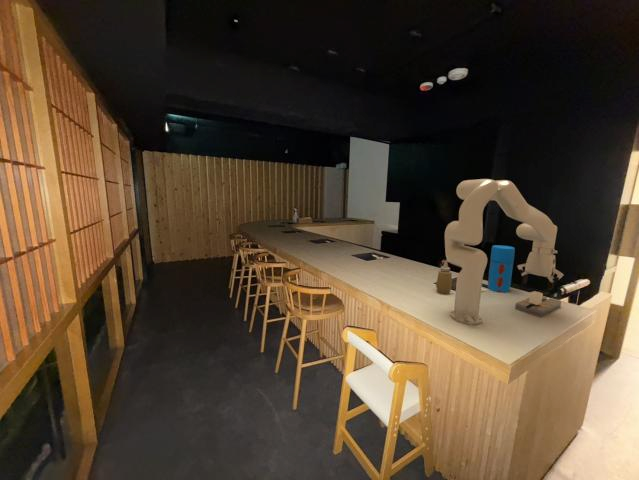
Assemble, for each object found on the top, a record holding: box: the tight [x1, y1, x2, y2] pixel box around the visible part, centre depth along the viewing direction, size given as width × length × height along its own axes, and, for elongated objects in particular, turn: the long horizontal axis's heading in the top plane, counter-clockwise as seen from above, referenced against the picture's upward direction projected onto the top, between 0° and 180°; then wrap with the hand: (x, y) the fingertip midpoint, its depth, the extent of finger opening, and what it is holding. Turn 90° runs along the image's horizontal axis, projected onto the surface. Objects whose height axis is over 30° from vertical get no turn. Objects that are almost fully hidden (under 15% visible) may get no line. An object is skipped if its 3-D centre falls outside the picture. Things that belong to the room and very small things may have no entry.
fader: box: [529, 290, 544, 306], centre depth 127 cm, size 4×3×6 cm
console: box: [514, 296, 562, 318], centre depth 129 cm, size 22×10×3 cm, turn 121°
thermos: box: [487, 244, 516, 294], centre depth 153 cm, size 11×11×25 cm
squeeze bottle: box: [435, 260, 453, 295], centre depth 148 cm, size 8×8×18 cm
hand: (536, 286), depth 125 cm, fingers open, 9 cm apart
